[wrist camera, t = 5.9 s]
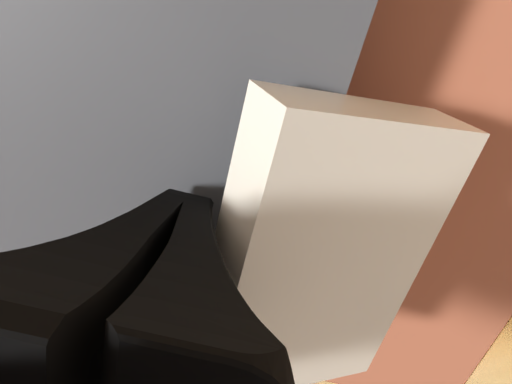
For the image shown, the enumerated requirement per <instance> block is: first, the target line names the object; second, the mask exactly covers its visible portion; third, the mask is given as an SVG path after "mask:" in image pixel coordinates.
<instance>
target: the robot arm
mask: <svg viewBox="0 0 512 384" xmlns="http://www.w3.org/2000/svg"><path fill="white" fill-rule="evenodd" d="M213 204H214V203H213V201H212V199H211V198H207V197H203V196H199V195H195V194H190V193H186V192H182V191H178V190H174V189H168V190H166V191H164V192H162V193H161V194H159V195H157V196H155V197H154V198H152V199H150V200H149V201H147V202H145V203H143V204H142V205H140V206H138V207H136V208H134V209H132V210H131V211H129V212H127V213H124V214H122V215H120V216H118V217H116V218H114V219H112V220H110V221H107V222H105V223H103V224H101V225H98V226H96V227H93V228H91V229H88V230H85V231H82V232H79V233H77V234H74V235H71V236H67V237H64V238H61V239H57V240H53V241H49V242H45V243H41V244H38V245H34V246H30V247H25V248H21V249H15V250H10V251H5V252H0V384H295V382H294V377H293V372H292V368H291V364H290V360H289V356H288V352H287V349H286V347H285V346H284V345H283V344H282V343H281V342H280V341H279V340H278V339H277V338H276V337H275V336H274V335H273V333H272V332H271V331H270V330H269V329H268V328H267V327H266V326H265V325H264V324H263V323H262V322H261V321H260V320H259V319H258V317H257V316H256V315H255V314H254V312H253V311H252V310H251V309H250V307H249V306H248V304H247V303H246V301H245V300H244V298H243V297H242V295H241V294H240V292H239V291H238V289H237V287H236V285H235V283H234V282H233V280H232V278H231V276H230V274H229V272H228V269H227V267H226V265H225V263H224V260H223V257H222V255H221V252H220V249H219V246H218V242H217V238H216V234H215V229H214V224H213V216H212V209H213Z"/></svg>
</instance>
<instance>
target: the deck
mask: <svg viewBox="0 0 512 384" xmlns="http://www.w3.org/2000/svg"><path fill="white" fill-rule="evenodd" d="M377 2H378V0H0V252H5V251H10V250H15V249H21V248H25V247H30V246H34V245H38V244H41V243H45V242H49V241H53V240H57V239H61V238H64V237H67V236H71V235H74V234H77V233H79V232H82V231H85V230H88V229H91V228H93V227H96V226H98V225H101V224H103V223H105V222H107V221H110V220H112V219H114V218H116V217H118V216H120V215H122V214H124V213H127V212H129V211H131V210H132V209H134V208H136V207H138V206H140V205H142V204H143V203H145V202H147V201H149V200H150V199H152V198H154V197H155V196H157V195H159V194H161V193H162V192H164V191H166V190H168V189H174V190H178V191H182V192H186V193H190V194H195V195H199V196H203V197H207V198H211V199H212V201H213V203H214V204H213V209H212V216H213V224H214V229H215V230H216V226H217V221H218V217H219V212H220V208H221V204H222V199H223V195H224V190H225V186H226V181H227V177H228V172H229V168H230V163H231V159H232V154H233V150H234V145H235V141H236V136H237V132H238V128H239V123H240V119H241V114H242V110H243V105H244V101H245V96H246V92H247V87H248V83H249V79H251V80H257V81H263V82H270V83H276V84H282V85H289V86H295V87H301V88H308V89H314V90H320V91H327V92H333V93H339V94H345V95H346V94H347V91H348V88H349V85H350V82H351V79H352V76H353V73H354V70H355V67H356V64H357V61H358V58H359V55H360V52H361V49H362V46H363V43H364V40H365V37H366V34H367V32H368V29H369V26H370V23H371V20H372V17H373V14H374V11H375V8H376V5H377Z"/></svg>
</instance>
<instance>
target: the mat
mask: <svg viewBox="0 0 512 384" xmlns="http://www.w3.org/2000/svg"><path fill="white" fill-rule="evenodd" d="M346 95H352V96H358V97H364V98H371V99H377V100H383V101H390V102H396V103H402V104H409V105H415V106H421V107H427V108H434V109H436V110H438V111H440V112H443V113H445V114H447V115H449V116H452V117H454V118H456V119H458V120H460V121H463V122H465V123H467V124H469V125H472V126H474V127H476V128H478V129H480V130H483V131H485V132H487V133H489V134H490V136H489V138H488V140H487V142H486V143H485V145H484V147H483V149H482V151H481V153H480V155H479V157H478V159H477V161H476V163H475V165H474V166H473V168H472V170H471V172H470V174H469V176H468V178H467V180H466V182H465V184H464V186H463V187H462V189H461V191H460V193H459V195H458V197H457V199H456V201H455V203H454V205H453V207H452V209H451V210H450V212H449V214H448V216H447V218H446V220H445V222H444V224H443V226H442V228H441V230H440V232H439V233H438V235H437V237H436V239H435V241H434V243H433V245H432V247H431V249H430V251H429V253H428V255H427V256H426V258H425V260H424V262H423V264H422V266H421V268H420V270H419V272H418V274H417V276H416V278H415V279H414V281H413V283H412V285H411V287H410V289H409V291H408V293H407V295H406V297H405V299H404V301H403V302H402V304H401V306H400V308H399V310H398V312H397V314H396V316H395V318H394V320H393V322H392V324H391V325H390V327H389V329H388V331H387V333H386V335H385V337H384V339H383V341H382V343H381V345H380V347H379V348H378V350H377V352H376V354H375V356H374V358H373V360H372V362H371V364H370V366H369V368H368V370H367V371H365V372H361V373H357V374H352V375H348V376H343V377H339V378H335V379H330V380H326V381H328V382H332V383H337V384H465V382H466V381H467V379H468V378H469V376H470V375H471V373H472V372H473V371H474V369H475V368H476V366H477V365H478V363H479V362H480V361H481V359H482V358H483V356H484V355H485V353H486V352H487V351H488V349H489V348H490V346H491V345H492V343H493V342H494V340H495V339H496V338H497V336H498V335H499V333H500V332H501V330H502V329H503V328H504V326H505V325H506V323H507V322H508V320H509V319H510V318H511V316H512V0H378V2H377V5H376V8H375V11H374V14H373V17H372V20H371V23H370V26H369V29H368V32H367V34H366V37H365V40H364V43H363V46H362V49H361V52H360V55H359V58H358V61H357V64H356V67H355V70H354V73H353V76H352V79H351V82H350V85H349V88H348V91H347V94H346Z"/></svg>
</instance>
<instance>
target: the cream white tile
mask: <svg viewBox="0 0 512 384" xmlns="http://www.w3.org/2000/svg"><path fill="white" fill-rule="evenodd" d="M489 136H490V134H489V133H487V132H485V131H483V130H480V129H478V128H476V127H474V126H472V125H469V124H467V123H465V122H463V121H460V120H458V119H456V118H454V117H452V116H449V115H447V114H445V113H443V112H440V111H438V110H436V109H434V108H427V107H421V106H415V105H409V104H402V103H396V102H390V101H383V100H377V99H371V98H364V97H358V96H352V95H345V94H339V93H333V92H327V91H320V90H314V89H308V88H301V87H295V86H289V85H282V84H276V83H270V82H263V81H257V80H251V79H249V83H248V87H247V92H246V96H245V101H244V105H243V110H242V114H241V119H240V123H239V128H238V132H237V136H236V141H235V145H234V150H233V154H232V159H231V163H230V168H229V172H228V177H227V181H226V186H225V190H224V195H223V199H222V204H221V208H220V212H219V217H218V221H217V226H216V230H215V234H216V238H217V242H218V246H219V249H220V252H221V255H222V257H223V260H224V263H225V265H226V267H227V269H228V272H229V274H230V276H231V278H232V280H233V282H234V283H235V285H236V287H237V289H238V291H239V292H240V294H241V295H242V297H243V298H244V300H245V301H246V303H247V304H248V306H249V307H250V309H251V310H252V311H253V312H254V314H255V315H256V316H257V317H258V319H259V320H260V321H261V322H262V323H263V324H264V325H265V326H266V327H267V328H268V329H269V330H270V331H271V332H272V333H273V335H274V336H275V337H276V338H277V339H278V340H279V341H280V342H281V343H282V344H283V345H284V346H285V347H286V349H287V352H288V356H289V360H290V364H291V368H292V372H293V377H294V382H295V384H312V383H317V382H321V381H326V380H330V379H335V378H339V377H343V376H348V375H352V374H357V373H361V372H365V371H367V370H368V368H369V366H370V364H371V362H372V360H373V358H374V356H375V354H376V352H377V350H378V348H379V347H380V345H381V343H382V341H383V339H384V337H385V335H386V333H387V331H388V329H389V327H390V325H391V324H392V322H393V320H394V318H395V316H396V314H397V312H398V310H399V308H400V306H401V304H402V302H403V301H404V299H405V297H406V295H407V293H408V291H409V289H410V287H411V285H412V283H413V281H414V279H415V278H416V276H417V274H418V272H419V270H420V268H421V266H422V264H423V262H424V260H425V258H426V256H427V255H428V253H429V251H430V249H431V247H432V245H433V243H434V241H435V239H436V237H437V235H438V233H439V232H440V230H441V228H442V226H443V224H444V222H445V220H446V218H447V216H448V214H449V212H450V210H451V209H452V207H453V205H454V203H455V201H456V199H457V197H458V195H459V193H460V191H461V189H462V187H463V186H464V184H465V182H466V180H467V178H468V176H469V174H470V172H471V170H472V168H473V166H474V165H475V163H476V161H477V159H478V157H479V155H480V153H481V151H482V149H483V147H484V145H485V143H486V142H487V140H488V138H489Z"/></svg>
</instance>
